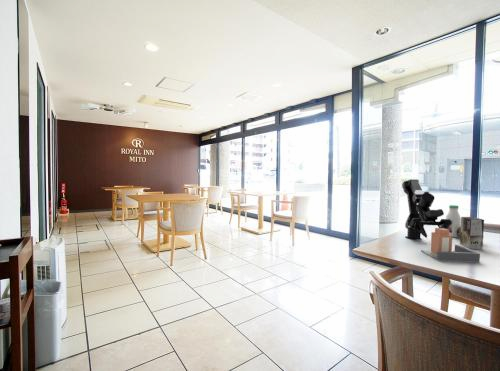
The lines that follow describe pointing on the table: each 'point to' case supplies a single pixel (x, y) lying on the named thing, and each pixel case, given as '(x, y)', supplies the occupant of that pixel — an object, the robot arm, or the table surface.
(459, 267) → the table surface
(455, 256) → the tray
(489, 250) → the table surface
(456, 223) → the milk bottle
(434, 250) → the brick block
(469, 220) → the coffee box
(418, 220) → the robot arm
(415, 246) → the table surface
